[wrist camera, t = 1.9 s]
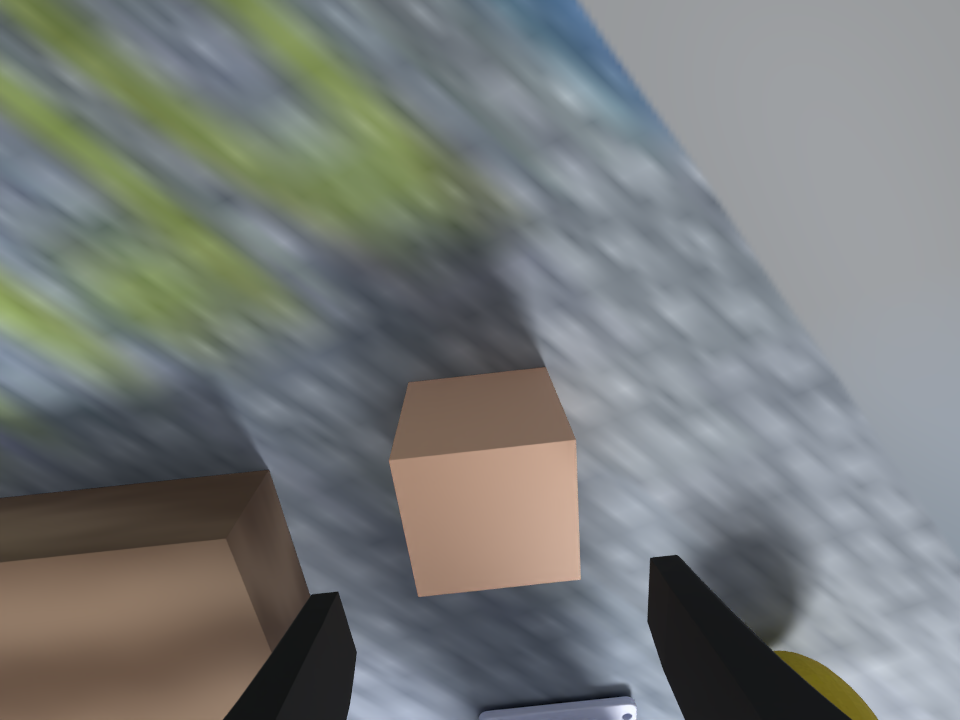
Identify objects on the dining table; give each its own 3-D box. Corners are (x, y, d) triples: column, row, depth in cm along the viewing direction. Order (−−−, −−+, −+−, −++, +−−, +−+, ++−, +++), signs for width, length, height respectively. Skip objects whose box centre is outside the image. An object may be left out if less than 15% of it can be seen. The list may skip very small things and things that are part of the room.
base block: (333, 652, 23) (309, 746, 19) (109, 676, 23) (41, 774, 19) (272, 464, 19) (225, 538, 15) (-3, 493, 19) (-118, 575, 15)
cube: (551, 479, 19) (580, 579, 14) (428, 492, 19) (418, 597, 14) (545, 366, 17) (575, 439, 12) (408, 381, 17) (389, 460, 13)
